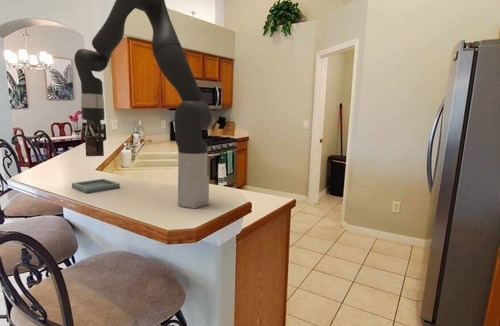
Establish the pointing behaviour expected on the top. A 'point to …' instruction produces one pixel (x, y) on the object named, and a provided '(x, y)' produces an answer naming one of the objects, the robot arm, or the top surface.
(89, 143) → the box
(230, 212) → the top surface
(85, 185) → the tray
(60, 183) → the top surface
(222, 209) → the top surface
